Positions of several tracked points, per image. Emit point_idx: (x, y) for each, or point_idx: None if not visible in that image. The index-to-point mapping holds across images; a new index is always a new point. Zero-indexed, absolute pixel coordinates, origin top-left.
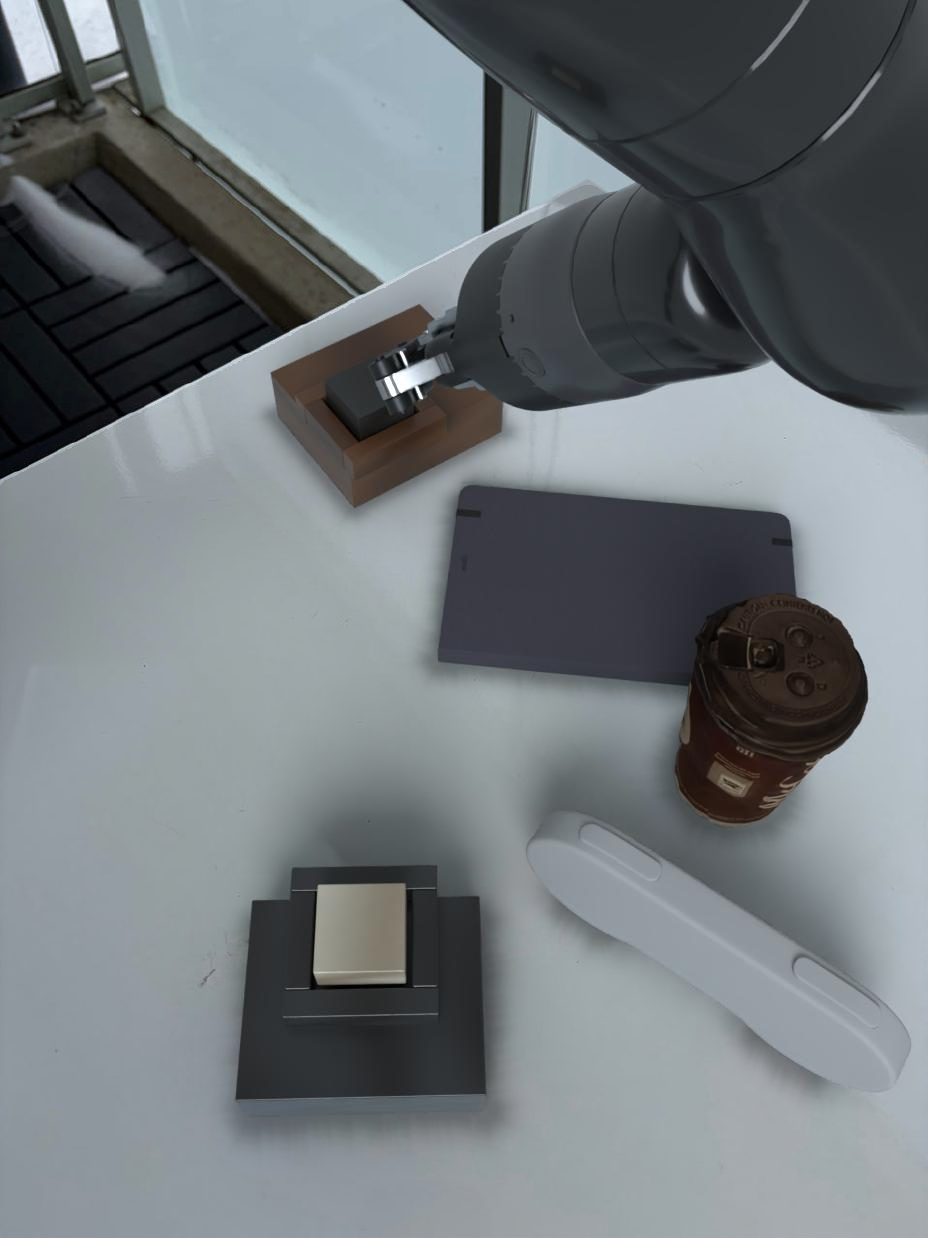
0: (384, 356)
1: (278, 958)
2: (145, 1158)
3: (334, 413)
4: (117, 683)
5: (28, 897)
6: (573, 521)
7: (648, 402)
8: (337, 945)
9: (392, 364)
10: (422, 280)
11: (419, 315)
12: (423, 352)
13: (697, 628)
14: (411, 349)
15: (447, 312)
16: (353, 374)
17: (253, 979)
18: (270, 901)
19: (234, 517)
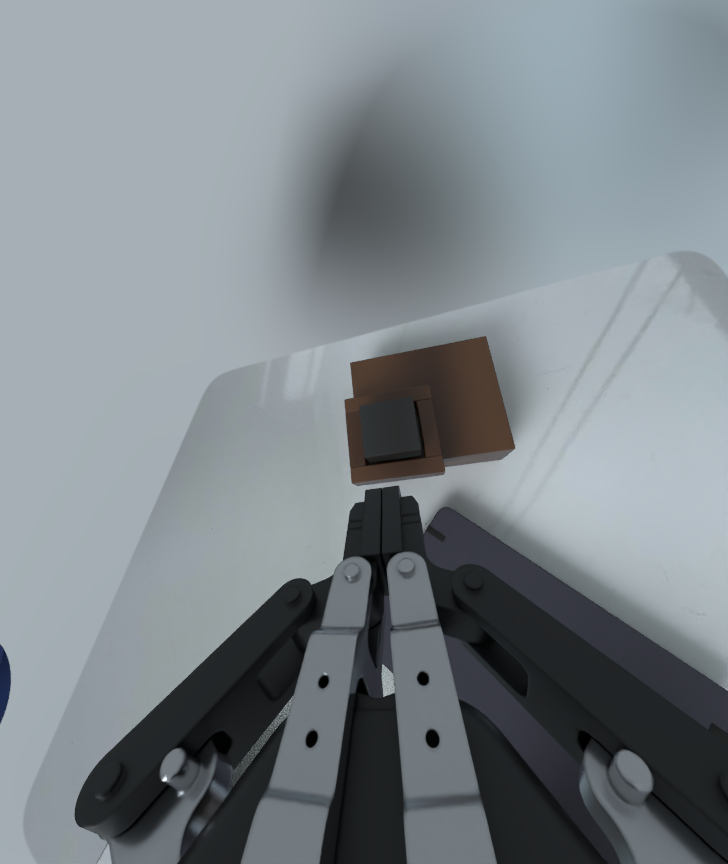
0: (187, 693)
1: None
2: (70, 845)
3: None
4: (195, 532)
5: (103, 640)
6: (515, 587)
7: (648, 485)
8: None
9: (107, 831)
10: (509, 299)
11: (480, 347)
12: (317, 623)
13: (574, 768)
14: (274, 650)
15: (254, 823)
16: (382, 410)
17: (105, 857)
18: None
19: (301, 448)
